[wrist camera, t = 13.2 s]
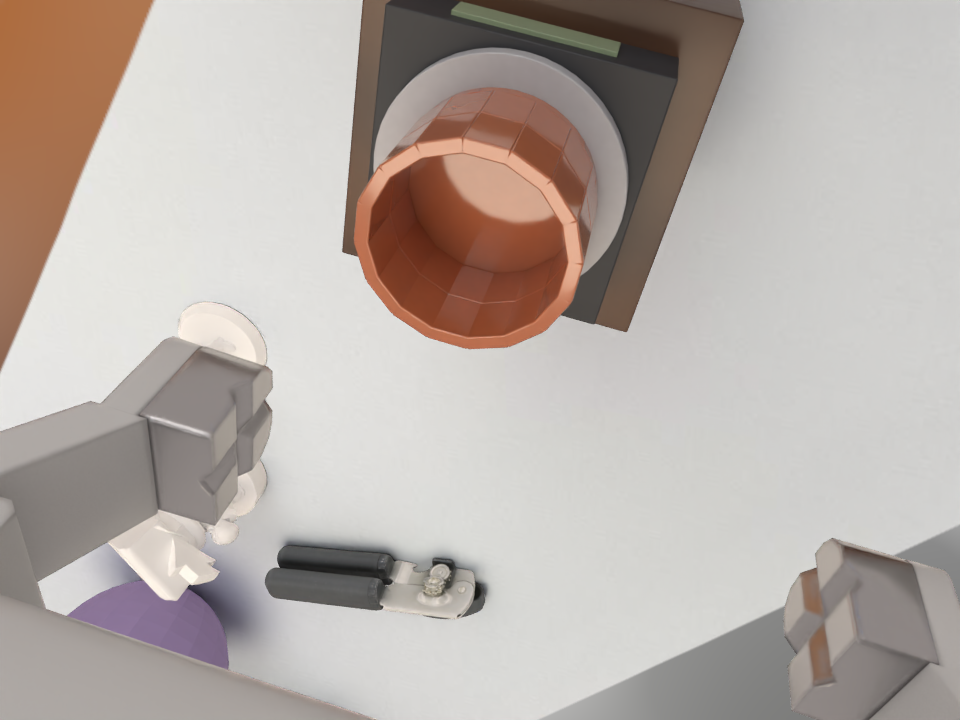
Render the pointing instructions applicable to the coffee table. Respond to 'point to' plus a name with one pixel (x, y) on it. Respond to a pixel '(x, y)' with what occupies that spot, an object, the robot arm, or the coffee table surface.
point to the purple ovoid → (159, 621)
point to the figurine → (222, 331)
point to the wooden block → (702, 63)
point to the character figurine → (185, 541)
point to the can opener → (374, 583)
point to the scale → (546, 75)
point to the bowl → (480, 219)
